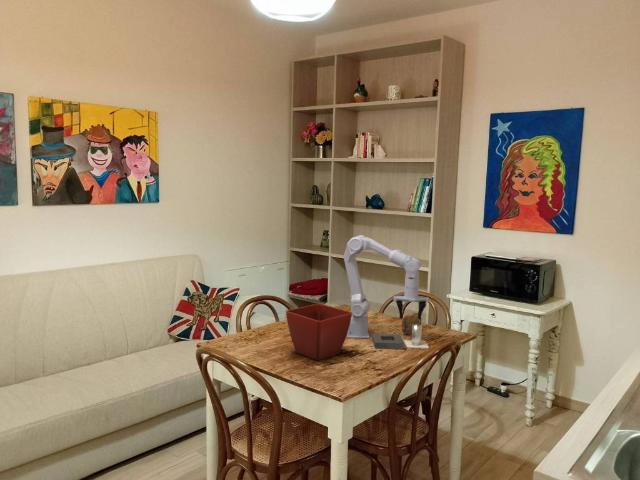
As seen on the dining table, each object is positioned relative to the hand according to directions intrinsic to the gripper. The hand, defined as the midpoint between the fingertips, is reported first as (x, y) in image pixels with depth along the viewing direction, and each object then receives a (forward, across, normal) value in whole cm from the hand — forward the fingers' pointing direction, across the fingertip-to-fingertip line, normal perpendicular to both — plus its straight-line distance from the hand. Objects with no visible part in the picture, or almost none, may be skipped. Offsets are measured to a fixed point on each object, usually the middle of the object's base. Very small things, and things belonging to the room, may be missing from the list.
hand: (410, 318), depth 219 cm
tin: (+11, +3, +14) cm, 18 cm away
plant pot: (+11, -38, -17) cm, 43 cm away
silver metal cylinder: (+10, +2, -4) cm, 11 cm away
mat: (+10, +2, -4) cm, 11 cm away
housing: (+10, -10, -4) cm, 14 cm away
